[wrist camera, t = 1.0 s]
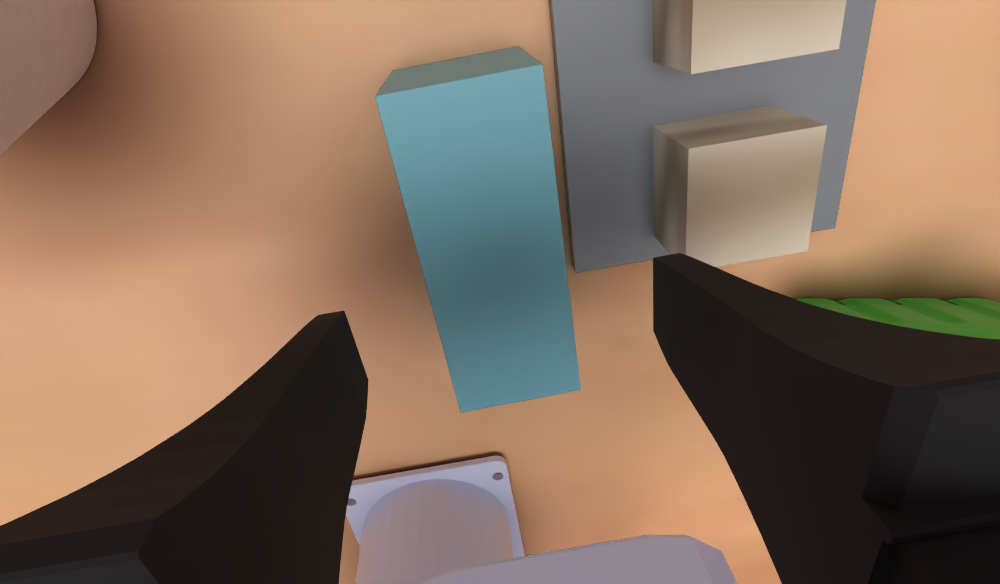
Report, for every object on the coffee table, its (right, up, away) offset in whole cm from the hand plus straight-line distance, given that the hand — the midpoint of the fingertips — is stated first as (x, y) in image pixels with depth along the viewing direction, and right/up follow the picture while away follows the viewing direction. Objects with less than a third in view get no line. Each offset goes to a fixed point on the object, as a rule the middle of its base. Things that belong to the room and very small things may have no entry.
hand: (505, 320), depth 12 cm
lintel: (-1, +4, +7) cm, 8 cm away
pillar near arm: (+7, +5, +6) cm, 11 cm away
